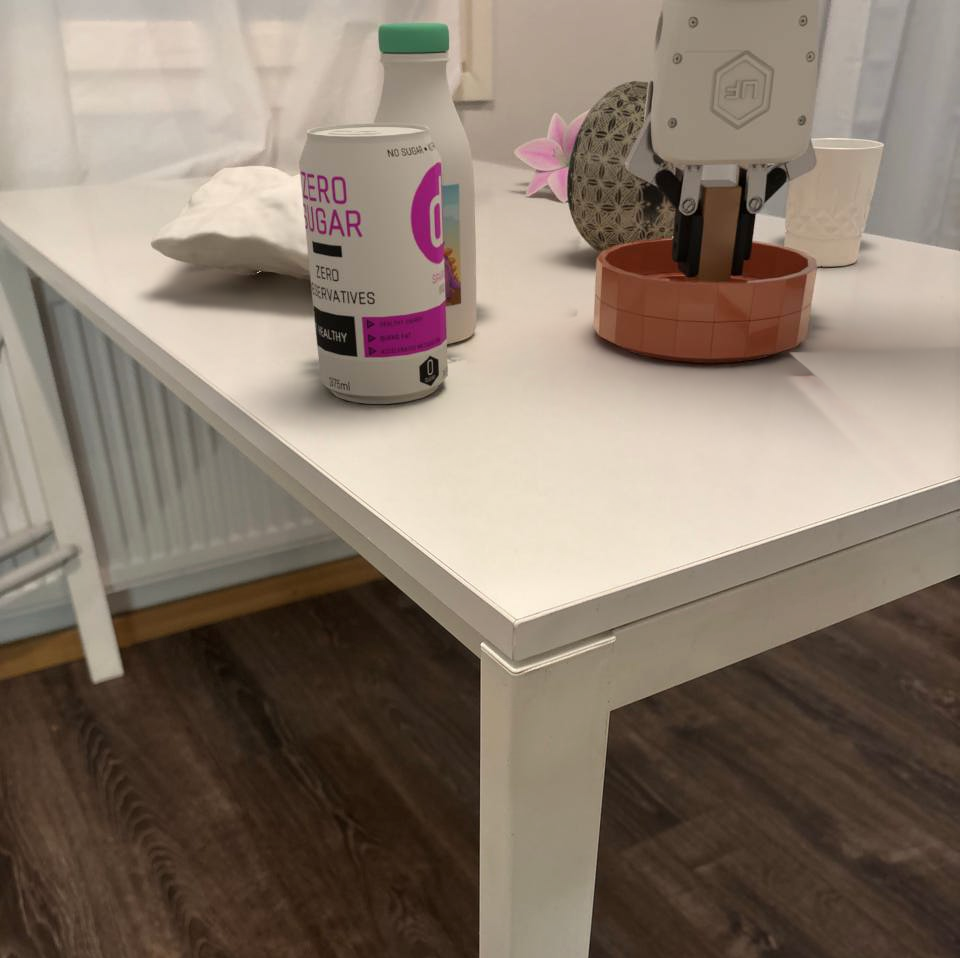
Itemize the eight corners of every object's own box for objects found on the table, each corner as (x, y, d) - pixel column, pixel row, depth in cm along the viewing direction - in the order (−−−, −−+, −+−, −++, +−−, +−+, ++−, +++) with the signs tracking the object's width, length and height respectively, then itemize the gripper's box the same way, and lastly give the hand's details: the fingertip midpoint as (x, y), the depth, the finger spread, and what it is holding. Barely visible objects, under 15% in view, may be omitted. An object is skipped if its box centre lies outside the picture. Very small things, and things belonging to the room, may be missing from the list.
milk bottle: (406, 316, 81) (391, 22, 70) (493, 327, 78) (492, 21, 67) (354, 341, 75) (330, 24, 64) (447, 354, 72) (437, 24, 61)
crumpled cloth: (204, 322, 75) (204, 188, 70) (105, 238, 101) (100, 137, 96) (480, 326, 86) (495, 211, 82) (327, 250, 112) (332, 160, 107)
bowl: (766, 307, 82) (775, 234, 79) (836, 363, 69) (851, 279, 66) (579, 313, 81) (582, 240, 78) (615, 371, 68) (620, 287, 65)
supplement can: (460, 370, 69) (454, 122, 61) (428, 411, 62) (416, 138, 54) (346, 364, 70) (326, 121, 62) (302, 403, 63) (273, 137, 55)
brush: (742, 323, 75) (761, 177, 70) (759, 340, 72) (781, 187, 66) (646, 326, 75) (658, 179, 69) (659, 343, 71) (672, 189, 66)
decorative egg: (550, 249, 102) (554, 79, 94) (661, 243, 103) (674, 75, 96) (584, 275, 92) (592, 87, 84) (706, 268, 94) (725, 83, 86)
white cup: (763, 262, 95) (779, 145, 90) (793, 248, 101) (809, 136, 95) (847, 272, 91) (868, 150, 86) (874, 256, 97) (895, 140, 92)
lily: (511, 197, 135) (493, 131, 127) (587, 155, 136) (574, 87, 128) (553, 241, 129) (537, 175, 121) (633, 196, 129) (623, 127, 121)
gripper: (622, -47, 57) (604, 288, 67) (899, -49, 58) (841, 281, 68) (599, -42, 64) (585, 264, 73) (849, -44, 65) (802, 258, 74)
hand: (709, 270), depth 71 cm, fingers closed on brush, 2 cm apart
